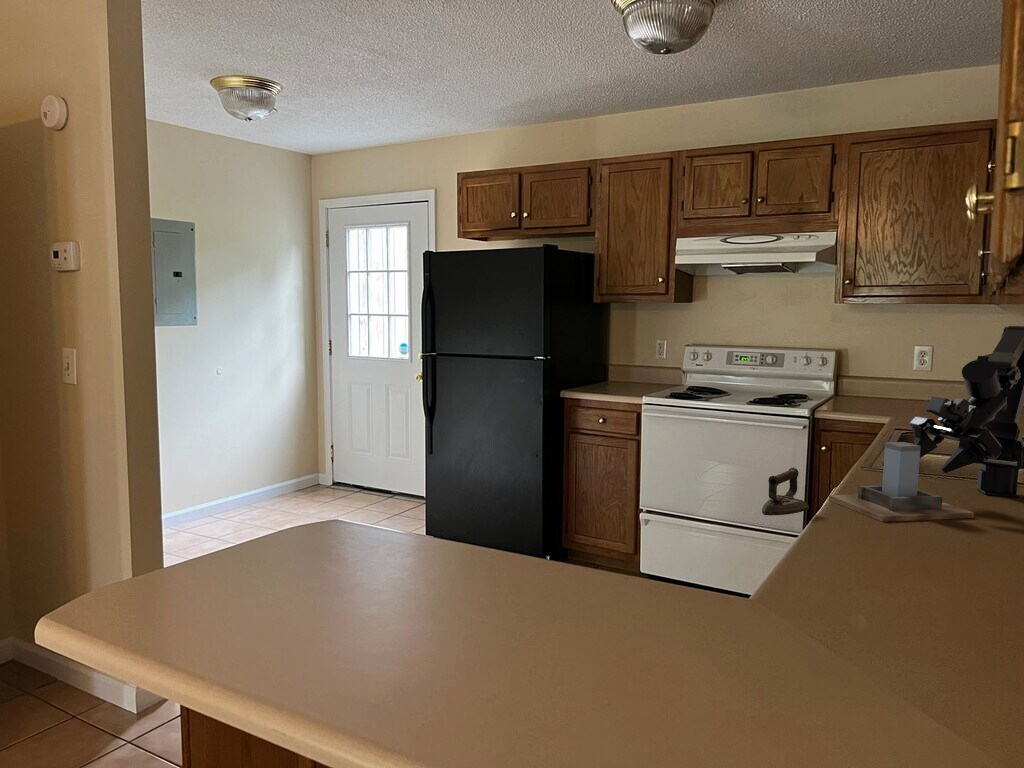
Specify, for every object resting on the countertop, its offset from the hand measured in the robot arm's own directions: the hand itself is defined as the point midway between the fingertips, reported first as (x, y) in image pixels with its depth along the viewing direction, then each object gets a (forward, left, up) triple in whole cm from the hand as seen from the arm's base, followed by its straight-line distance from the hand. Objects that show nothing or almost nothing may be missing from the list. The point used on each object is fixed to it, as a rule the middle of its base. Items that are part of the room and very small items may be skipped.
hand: (925, 466), depth 147 cm
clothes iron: (+28, +13, -9) cm, 32 cm away
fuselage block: (+5, +3, -7) cm, 9 cm away
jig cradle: (+5, +3, -8) cm, 10 cm away
